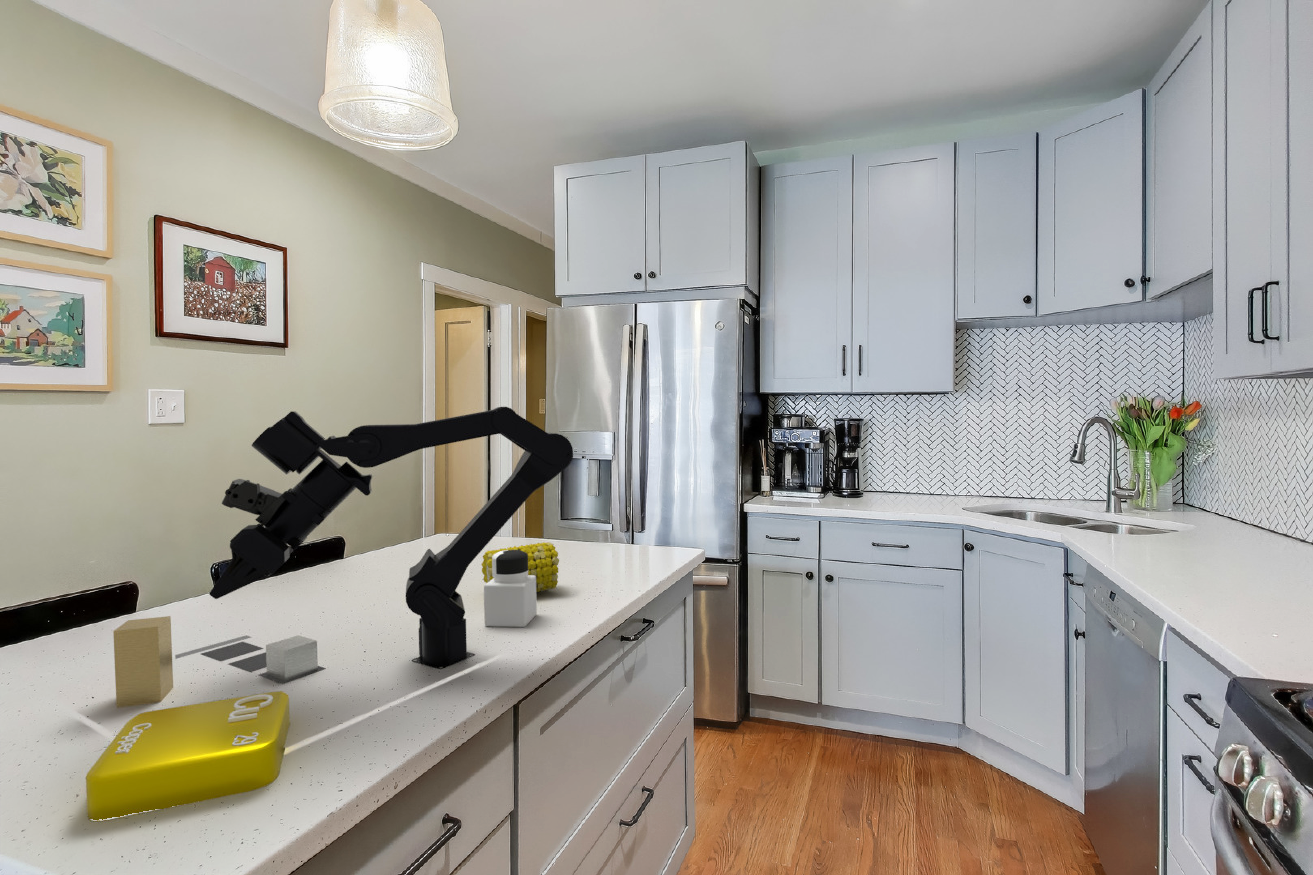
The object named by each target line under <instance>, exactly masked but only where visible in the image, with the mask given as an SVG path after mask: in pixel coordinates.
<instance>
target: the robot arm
mask: <svg viewBox="0 0 1313 875" xmlns="http://www.w3.org/2000/svg"><path fill="white" fill-rule="evenodd" d="M495 435H501V436H503V437H505V438H506V439H507V440H509V441H510V442H512V443H513V444H514V445H516V446H517V447H519V448H520V449H521V450H523V453H522V455H521V456H520V458H519V459H518V462H517V464H516V466H515V467H514V469H513V471H512V473H511V475H510V476H509V477H508V478H507V479H506V481H505V482H504V483H503V484H502V485H501V487H499V489H497V491H496V492H495V493H494V494H493V495H492V496H491V497H490V499H489V500H488V501H487V502H486V503H485V504H484V505H483V507H481V508H480V509H479V511H478V512H477V513H476V515H474V516H473V517H472V519H471V520H470V521H469V522H468V523H467V524H466V526H464V527H463V529H462V530H461V531H460V532H459V533H458V534H457V535H456V537H455V538H453V540H452V541H451V542H450V543H449V544H448V545H447V546H446V547H444V548H443V549H442V550H440V551H439V552H437V553H436V554H435V553H434V552H433V551H432V549H431V548H427V550H426V551H425V553H424V554H423V555H422V558H421V559H420V560H419V561H418V562H417V563H416V564H414V566H413V565H412V566H411V567H410V568H409V571H408V572H409V573H408V578H407V580H406V586H405V603H406V605H407V607H408V609H409V610H410V611H411V612H412V613H413V614H416V615H417V616H420V618H419V620H418V621H419V627H418V655H419V656H418V657H416V658H413V659H411V660H410V661H411V662H412V663H416V664H419V665H423V666H426V667H430V668H434V669H437V670H443V669H446V668H448V667H450V666H453V665H455V664H458V663H460V662H463V661H465V660H468V659H469V658H472V657H474V656H476V654H475V653H473V652H468V651H467V619H466V618H464V617H465V614H466V609H465V606H464V602H463V597H462V595H461V594H460V593H459V592H457V588H458V586H459V584H460V582H461V581H462V578H463V577H464V575H465V573H466V571H467V569H468V567H469V566H470V564H471V563H472V562H473V561H474V560H475V559H476V558H477V556H478V555H479V554H480V553H481V552H482V551H483V550H484V549H485V547H486V546H487V545H488V544H489V543H490V541H492V540H493V538H494V537H495V536H496V535H497V534H498V532H499V531H500V530H501V529H502V528H503V527H504V526H505V525H506V524H507V522H508V521H509V520H510V519H511V518H512V516H513V515H515V513H516V512H517V511H518V510H519V509H520V507H521V506H522V505H523V504H524V503H525V502H526V500H527V499H528V498H530V496H531V495H532V494H533V493H534V492H536V491H537V490H539V489H540V488H541V487H542V486H543V487H544V485H546V484H548V483H549V482H550V481H552V480H553V479H555V478H556V477H557V476H558V475H559V474H561V473H562V472H564V471H565V469H567V468H568V466H569V465H570V464H571V463H572V461H573V458H574V449H573V446H572V443H571V442H570V440H569V439H568V438H567V437H566V436H564V435H563V434H559V433H556V432H555V433H554V432H546V431H545V430H543V429H542V428H540V427H539V426H537V425H536V424H534V423H532V422H531V421H529V420H527V419H526V418H524V417H522V416H521V415H519V414H517V412H516V411H515V410H514V409H513V408H511V407H508V406H497V407H495V408H493V409H491V410H486V411H485V410H484V411H479V412H473V413H469V414H462V415H458V416H452V417H446V418H442V419H436V420H431V421H430V420H429V421H426V422H419V423H407V424H406V423H405V424H404V423H403V424H401V423H400V424H398V423H397V424H366V425H360V426H358V427H355V428H353V429H352V430H351V431H350V432H349V433H348V434H347V435H343V436H339V437H336V436H335V435H331V436H329V437H328V438H325V437H324V436H323V435H322V434H320V433H319V431H317V430H316V429H315V428H314V427H312V426H311V424H309V423H307V421H306V419H304V418H303V416H301V414H299V413H298V412H297V411H293V410H292V411H290V412H288V413H287V415H285V416H284V417H282V418H281V419H279V420H278V421H276V422H275V423H274V424H273V425H272V426H269V427H267V428H266V429H265V430H264V431H263V432H262V433H261V434H259V435H258V437H256V438H255V440H254V441H253V442H252V443H251V447H252V448H253V449H254V450H255V451H256V452H258V453H259V454H261V455H262V456H263V457H265V458H266V459H267V460H268V461H269V462H270V463H272V464H273V465H274V466H275V467H276V468H278V469H279V470H280V471H281V472H283V473H284V474H285V475H289V474H290V473H295V472H296V473H297V474H298V475H301V474H302V473H303V472H305V470H307V469H308V468H309V467H310V466H312V464H313V463H314V462H315V461H316V460H317V459H318V458H320V459H321V461H320V462H318V464H316V465H315V466H314V467H313V469H312V470H310V471H309V472H308V473H307V474H306V475H305V476H304V477H303V478H302V479H300V481H298V483H297V484H296V485H295V486H294V487H293V488H291V487H290V488H289V489H288V490H285V491H283V492H282V493H281V492H279V491H276V490H274V489H271V488H269V487H266V486H263V485H261V484H260V483H255V482H252V481H251V480H250V479H243V478H237V479H234V480H232V482H231V483H230V485H229V487H228V488H227V489H226V490H225V491H224V494H225V495H224V498H223V500H222V501H221V505H223V506H225V507H227V508H230V509H233V508H235V509H238V510H240V511H243V512H247V513H249V514H252V515H256V516H257V517H256V518H255V519H254V520H255V522H257V524H248V525H246V526H245V527H243V528H242V529H241V530H240V531H239V532H238V533H237V534H235V536H234V537H233V538H231V540H230V543H229V549H230V551H231V560H230V562H229V563H228V564H227V566H226V568H225V570H224V571H223V572H222V574H221V576H220V577H219V578H218V579H217V581H216V582H215V584H214V585H213V587H212V589H211V590H210V592H209V593H208V594H209V596H211V597H212V598H213V599H214V600H218V599H220V598H222V597H225V596H226V595H228V594H231V593H233V592H235V591H237V590H239V589H243V587H247V586H249V585H250V584H253V583H256V582H257V581H259V580H262V579H264V578H267V577H269V576H272V575H274V574H275V573H276V572H277V571H278V570H279V569H280V568H281V567H282V566H284V564H285V563H286V562H287V560H289V559H290V555H291V553H293V552H294V551H295V550H297V549H298V547H300V545H302V544H303V543H304V542H305V541H306V540H307V538H308V536H309V535H310V534H311V533H313V531H315V529H316V528H317V527H319V526H320V525H321V524H322V523H323V522H324V521H325V520H326V519H327V517H329V516H330V514H331V513H332V512H334V511H335V509H336V508H338V507H339V506H340V504H341V503H342V502H344V501H345V500H346V499H347V498H348V497H349V496H350V495H351V494H352V493H353V492H354V491H355V490H356V489H357V490H358V491H360V493H362V494H363V495H364V496H365V497H366V496H370V495H371V493H372V484H371V483H372V478H373V475H372V474H362V473H361V472H360V471H358V470H357V469H356V468H355V467H354V466H352V465H351V464H350V463H349V462H351V463H352V464H354V465H355V466H357V467H360V468H364V469H366V468H367V469H368V468H369V469H370V468H374V467H377V466H380V465H383V464H386V463H389V462H390V461H394V460H396V459H399V458H401V457H403V456H406V455H408V454H411V453H415V452H416V451H419V450H422V449H423V450H424V449H429V448H432V447H433V448H434V447H438V446H443V445H448V444H453V443H459V442H464V441H470V440H473V439H479V438H483V437H489V436H495ZM330 456H335V457H339V458H340V457H341V458H347V459H348V460H349V462H348V461H345V462H344V463H343V464H342V465H341V464H340V463H339V462H337V461H336V460H335V459H333V457H330Z"/></svg>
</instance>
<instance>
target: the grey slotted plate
mask: <svg viewBox="0 0 1313 875" xmlns="http://www.w3.org/2000/svg"><path fill="white" fill-rule="evenodd" d="M251 638H252V636H250V635H246V634H245V635H243V636H239V637H235V638H232V639H231V638H230V639H228V640H224V641H220V642H217V643H214V644H210V645H207V646H204V647H199V648H195V649H192V650H189V651H185V652H181V653H177V654H174V656H175V657H174V658H175V659H180V658H184V657H188V656H190V655H194V654H197V653H200V655H202V656H205V657H207V658H210V659H212V660H216V661H218V662H224V661H226V660H230V659H233V658H238V657H241V656H244V655H247V654H250V653H254V652H257V651H260V650H263V649H264V647H261V646H257V645H254V644H252V643H249V642H246V641H243V640H247V639H251ZM240 641H241V642H240ZM232 643H233V644H232ZM215 648H216V649H215ZM212 649H213V650H212ZM228 665H230V666H232V667H235V668H237V669H240V670H243V671H246V672H249V673H252V672H255V671H259V670H262V669H265V668H267V664H266V651H265V652H262V653H259V654H255V655H251V656H249V657H246V658H241V659H239V660H236V661H233V662H230V663H228ZM326 669H327V668H326V667H322V666H320V665H318V669H317V670H314V671H311V672H308V673H306V674H303V675H300V676H297V677H294V678H291V679H288V680H286V681H285V680H282V679H279V678H277V677H274V676H271V675H268V674H267V671H266V672H262V673H259V674H258V676H259V677H262V678H265V679H268V680H271V681H274V682H276V683H278V684H280V685H281V684H282V685H284V684H287V683H290V682H292V681H295V680H299V679H302V678H305V677H307V676H309V675H312V674H315V673H318V672H321V671H324V670H326Z"/></svg>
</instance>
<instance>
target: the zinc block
mask: <svg viewBox="0 0 1313 875" xmlns="http://www.w3.org/2000/svg"><path fill="white" fill-rule="evenodd" d="M265 652H266V664H267V667H266V672H267V674H268V675H271V676H274V677H277V678H279V679H282V680H285V681H286V680H288V679H291V678H294V677H297V676H300V675H303V674H306V673H308V672H311V671H314V670H317V669H318V666H319V665H318V664H319V662H318V660H319V659H318V658H319V657H318V641H317V640H316V639H312V638H309V637H306V636H302V635H294V636H292V637H289V638H284V639H281V640H279V641H278V640H277V641H275V642H271V643H268V644H265Z"/></svg>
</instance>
